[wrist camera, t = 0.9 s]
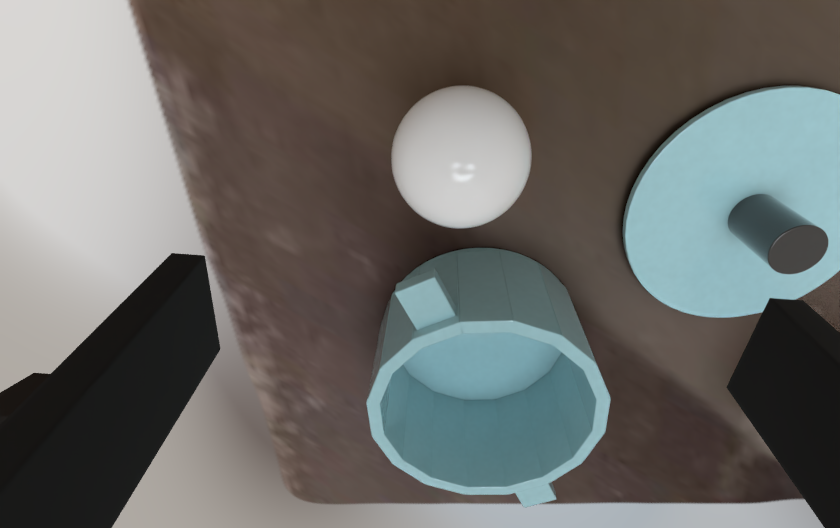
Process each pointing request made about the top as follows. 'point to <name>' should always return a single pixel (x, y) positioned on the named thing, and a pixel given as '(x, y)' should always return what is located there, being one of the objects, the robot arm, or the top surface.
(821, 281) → the lid
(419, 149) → the lightbulb
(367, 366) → the top surface
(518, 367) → the pot
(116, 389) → the robot arm
